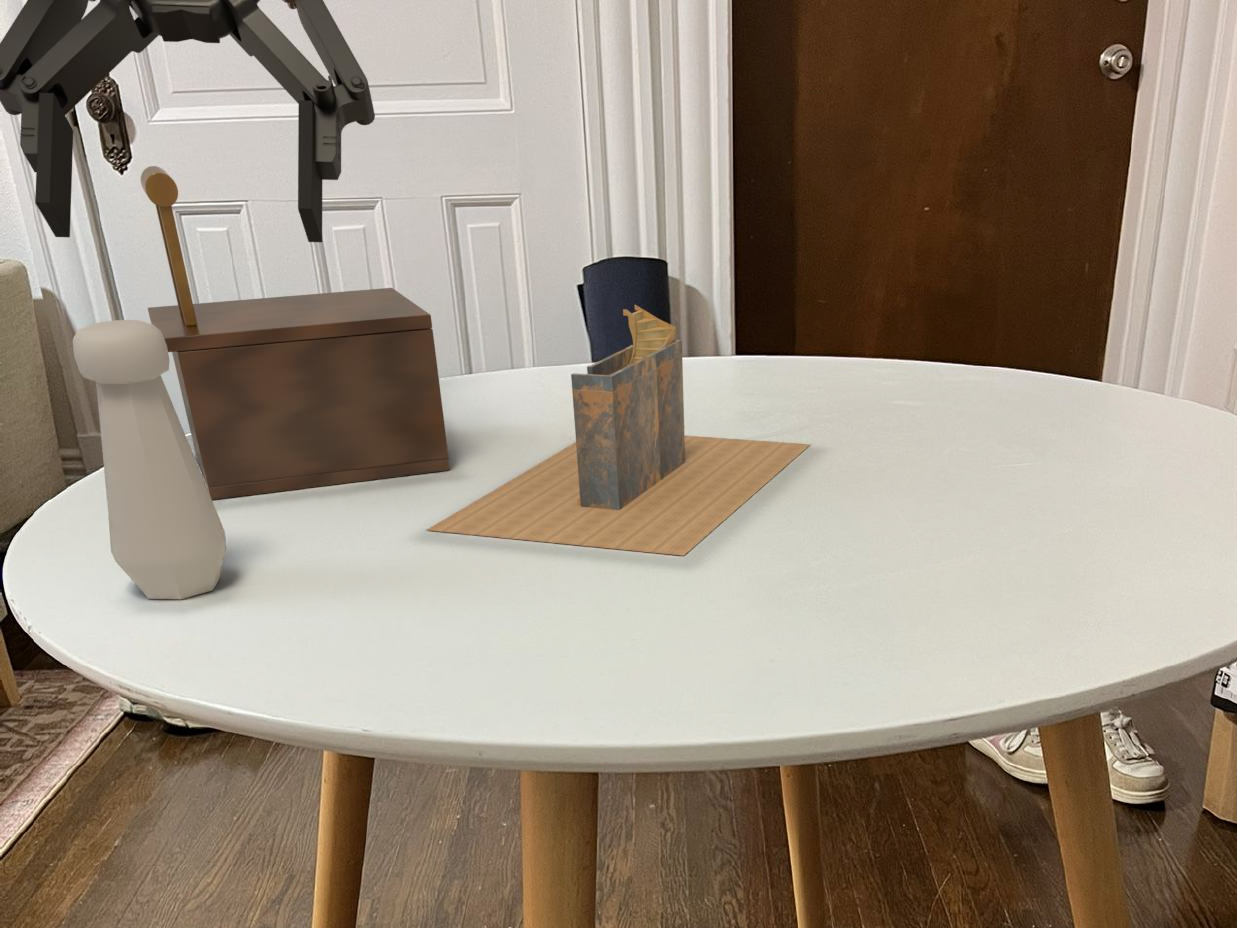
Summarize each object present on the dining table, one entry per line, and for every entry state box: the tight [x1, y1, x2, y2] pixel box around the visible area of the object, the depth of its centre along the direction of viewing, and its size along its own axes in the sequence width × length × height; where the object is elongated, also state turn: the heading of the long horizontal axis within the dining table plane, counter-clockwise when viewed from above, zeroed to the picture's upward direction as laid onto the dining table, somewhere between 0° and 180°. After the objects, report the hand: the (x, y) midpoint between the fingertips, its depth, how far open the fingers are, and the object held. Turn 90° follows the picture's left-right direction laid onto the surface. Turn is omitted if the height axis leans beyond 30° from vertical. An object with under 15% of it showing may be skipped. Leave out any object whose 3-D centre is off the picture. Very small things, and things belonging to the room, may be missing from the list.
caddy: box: [171, 328, 451, 501], centre depth 88 cm, size 16×13×9 cm
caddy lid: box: [140, 165, 433, 353], centre depth 83 cm, size 16×13×9 cm
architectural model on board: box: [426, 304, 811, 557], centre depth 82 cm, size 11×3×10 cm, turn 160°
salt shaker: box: [72, 319, 227, 600], centre depth 67 cm, size 6×6×13 cm
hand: (182, 224), depth 71 cm, fingers open, 13 cm apart
